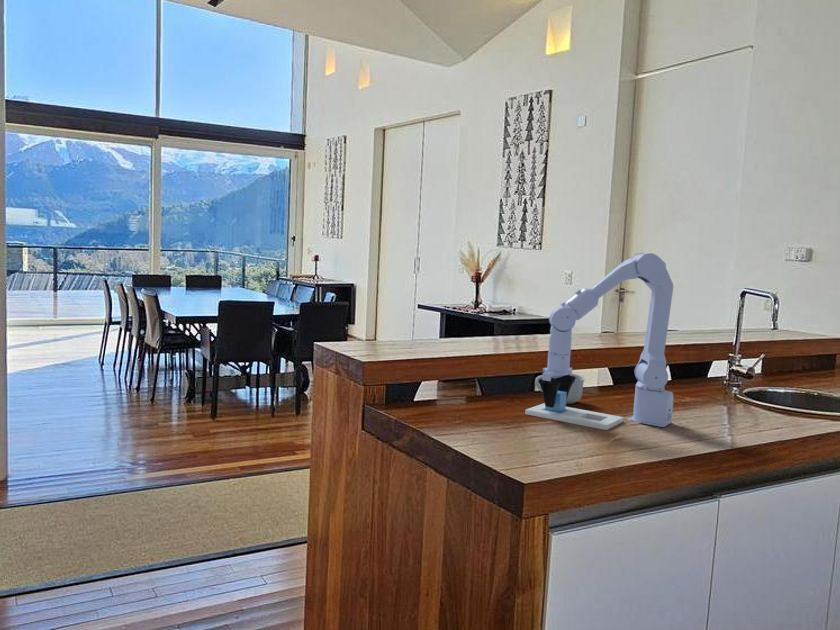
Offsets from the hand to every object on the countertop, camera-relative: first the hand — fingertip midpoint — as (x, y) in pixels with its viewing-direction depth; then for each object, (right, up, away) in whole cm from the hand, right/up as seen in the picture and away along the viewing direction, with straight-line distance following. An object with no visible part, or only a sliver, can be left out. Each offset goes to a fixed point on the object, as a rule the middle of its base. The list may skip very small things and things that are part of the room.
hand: (555, 404), depth 187 cm
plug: (0, -3, 0) cm, 3 cm away
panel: (+4, -4, -3) cm, 6 cm away
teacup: (+4, -2, +18) cm, 19 cm away
